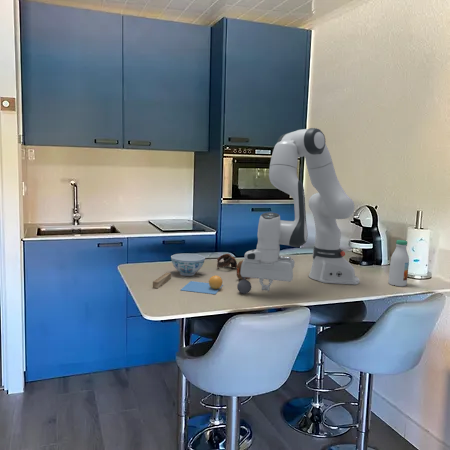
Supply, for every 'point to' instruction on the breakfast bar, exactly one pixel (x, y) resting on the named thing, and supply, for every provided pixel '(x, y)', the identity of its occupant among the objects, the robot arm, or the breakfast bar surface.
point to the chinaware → (187, 263)
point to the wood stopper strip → (161, 280)
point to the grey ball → (244, 286)
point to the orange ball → (215, 282)
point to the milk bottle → (399, 265)
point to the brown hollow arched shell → (226, 261)
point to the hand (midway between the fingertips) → (265, 289)
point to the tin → (239, 272)
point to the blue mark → (199, 288)
